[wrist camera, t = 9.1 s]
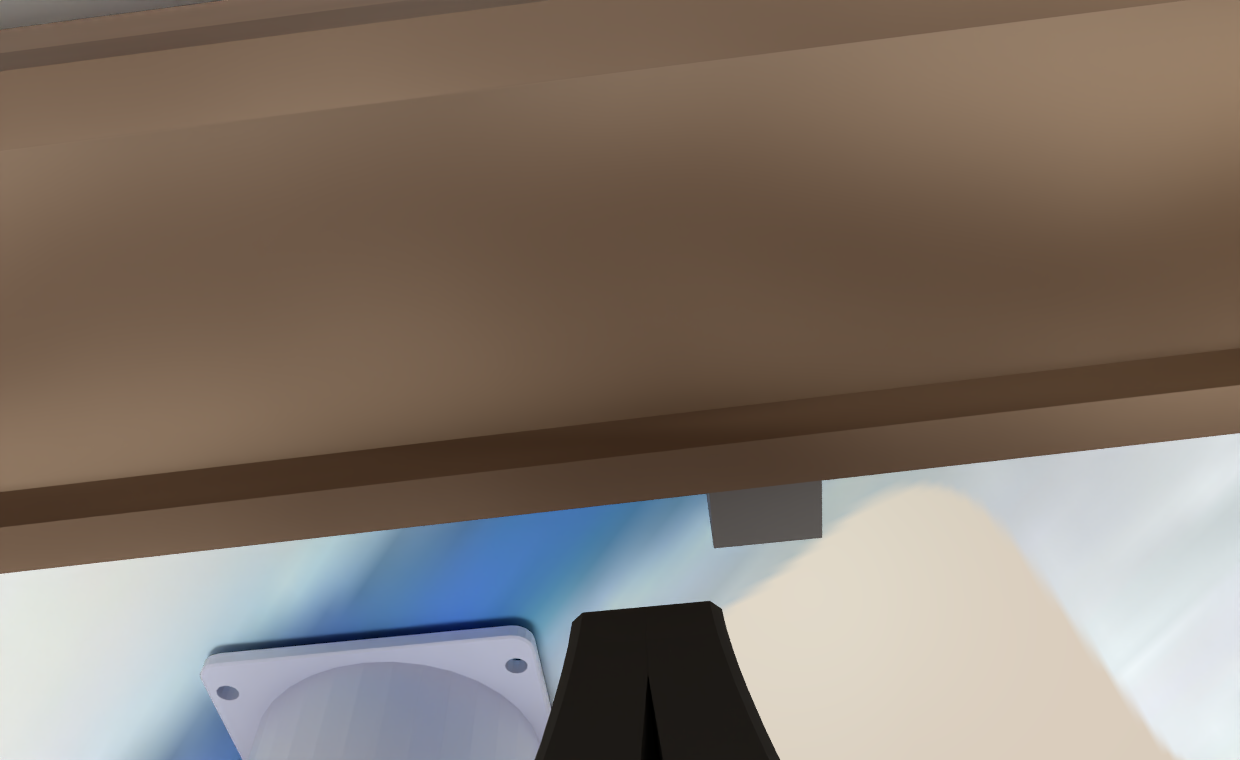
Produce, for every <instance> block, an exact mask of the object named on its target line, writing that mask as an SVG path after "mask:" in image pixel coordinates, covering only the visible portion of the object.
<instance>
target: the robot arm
mask: <svg viewBox="0 0 1240 760" xmlns="http://www.w3.org/2000/svg"><path fill="white" fill-rule="evenodd" d="M514 658H517V659H522V660H513V659H514ZM200 677H201V680H202V682H203V684H204V686H205V688H206V690H207V692H208V694H209V696H210V698H211V700H212V702H213V704H214V706H215V707H216V709H217V711H218V713H219V715H220V717H221V719H222V721H223V723H224V725H225V727H226V729H227V731H228V733H229V735H230V737H231V738H232V740H233V742H234V744H235V746H236V748H237V750H238V752H239V754H240V756H241V758H242V760H780V759H779V757H778V755H777V753H776V751H775V748H774V746H773V744H772V742H771V740H770V738H769V736H768V734H767V732H766V729H765V727H764V725H763V723H762V721H761V718H760V716H759V714H758V711H757V709H756V707H755V705H754V702H753V700H752V698H751V695H750V693H749V691H748V688H747V686H746V683H745V681H744V678H743V676H742V673H741V671H740V668H739V665H738V662H737V660H736V657H735V654H734V651H733V648H732V645H731V642H730V638H729V635H728V632H727V629H726V625H725V621H724V616H723V612H722V609H721V608H720V607H718V606H717V605H715V604H714V603H712V602H711V601H704V602H694V603H683V604H672V605H661V606H650V607H639V608H628V609H617V610H607V611H596V612H585V613H582V614H581V615H580V616H578V617H577V618H576V619H575V620H574V621H573V622H572V627H571V632H570V638H569V644H568V648H567V653H566V657H565V661H564V665H563V670H562V673H561V677H560V681H559V685H558V688H557V692H556V695H555V699H554V702H553V705H552V709H551V706H550V702H549V697H548V693H547V689H546V684H545V680H544V676H543V672H542V667H541V663H540V659H539V655H538V650H537V646H536V642H535V638H534V636H533V634H532V633H531V632H530V631H529V630H527V629H526V628H523V627H520V626H512V625H510V626H500V627H489V628H479V629H468V630H458V631H447V632H437V633H426V634H416V635H406V636H395V637H385V638H374V639H364V640H353V641H343V642H332V643H322V644H312V645H301V646H291V647H280V648H270V649H259V650H249V651H238V652H228V653H218V654H214V655H211V656H209V657H208V658H207V659H206V660H205V663H204V665H203V667H202V670H201V672H200ZM230 686H231V687H230Z"/></svg>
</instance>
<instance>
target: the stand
mask: <svg viewBox="0 0 1240 760" xmlns="http://www.w3.org/2000/svg"><path fill="white" fill-rule="evenodd" d="M707 502H708V509H709V516H710V523H711V531H712V538H713V545H714V548H722V547H732V546H742V545H752V544H763V543H773V542H783V541H793V540H803V539H813V538H822V480H821V481H813V482H804V483H795V484H786V485H777V486H768V487H760V488H751V489H742V490H733V491H724V492H716V493H707Z"/></svg>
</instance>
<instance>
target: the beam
mask: <svg viewBox="0 0 1240 760" xmlns="http://www.w3.org/2000/svg"><path fill="white" fill-rule="evenodd" d="M1235 433H1240V0H223V1H215V2H207V3H200V4H192V5H185V6H177V7H169V8H162V9H154V10H146V11H139V12H131V13H123V14H116V15H108V16H100V17H93V18H85V19H77V20H70V21H62V22H55V23H47V24H39V25H32V26H24V27H16V28H9V29H1V30H0V574H2V573H11V572H20V571H29V570H37V569H46V568H55V567H64V566H73V565H82V564H90V563H99V562H108V561H117V560H126V559H134V558H143V557H152V556H161V555H170V554H178V553H187V552H196V551H205V550H214V549H222V548H231V547H240V546H249V545H258V544H266V543H275V542H284V541H293V540H302V539H310V538H319V537H328V536H337V535H346V534H355V533H363V532H372V531H381V530H390V529H399V528H407V527H416V526H425V525H434V524H443V523H451V522H460V521H469V520H478V519H487V518H495V517H504V516H513V515H522V514H531V513H539V512H548V511H557V510H566V509H575V508H584V507H592V506H601V505H610V504H619V503H628V502H636V501H645V500H654V499H663V498H672V497H680V496H689V495H698V494H707V493H716V492H724V491H733V490H742V489H751V488H760V487H768V486H777V485H786V484H795V483H804V482H813V481H821V480H830V479H839V478H848V477H857V476H865V475H874V474H883V473H892V472H901V471H909V470H918V469H927V468H936V467H945V466H953V465H962V464H971V463H980V462H989V461H997V460H1006V459H1015V458H1024V457H1033V456H1042V455H1050V454H1059V453H1068V452H1077V451H1086V450H1094V449H1103V448H1112V447H1121V446H1130V445H1138V444H1147V443H1156V442H1165V441H1174V440H1182V439H1191V438H1200V437H1209V436H1218V435H1226V434H1235Z"/></svg>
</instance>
